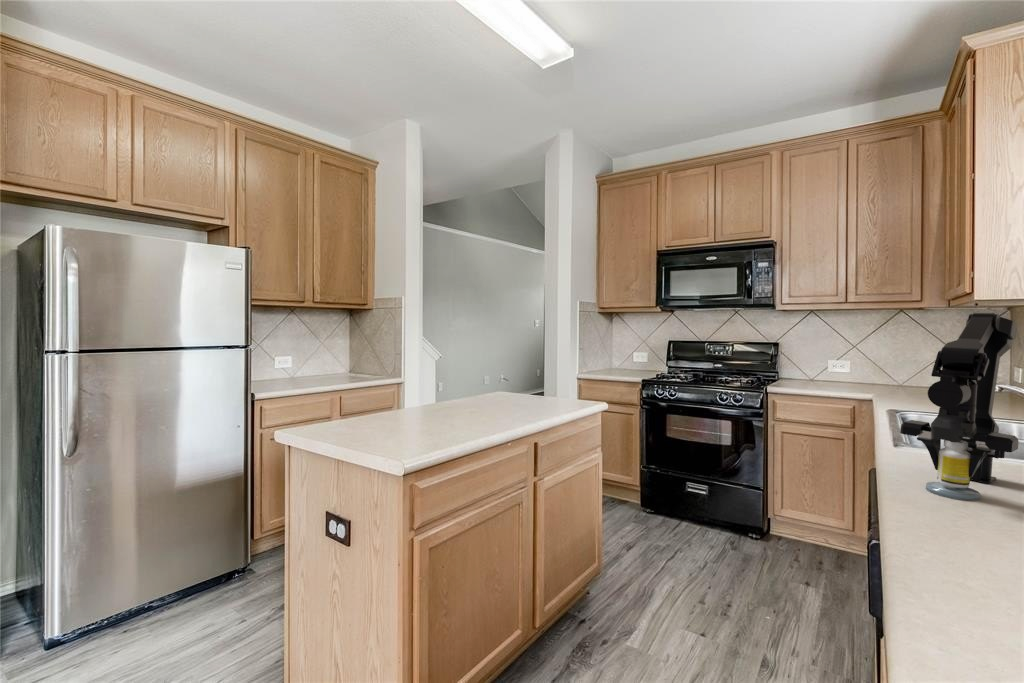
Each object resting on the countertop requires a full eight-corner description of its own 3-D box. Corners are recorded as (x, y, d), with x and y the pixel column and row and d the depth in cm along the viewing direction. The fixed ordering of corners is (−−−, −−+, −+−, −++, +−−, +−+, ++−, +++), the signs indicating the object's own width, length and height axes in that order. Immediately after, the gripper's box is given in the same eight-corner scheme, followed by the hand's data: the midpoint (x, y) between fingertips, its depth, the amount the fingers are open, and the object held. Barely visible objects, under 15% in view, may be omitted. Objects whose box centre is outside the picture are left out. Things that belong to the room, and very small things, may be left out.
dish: (933, 483, 116) (933, 478, 116) (985, 495, 109) (985, 490, 109) (919, 490, 111) (919, 485, 111) (972, 503, 104) (973, 498, 104)
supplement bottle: (975, 489, 107) (978, 444, 106) (946, 487, 108) (949, 443, 107) (958, 481, 112) (961, 438, 111) (931, 479, 113) (933, 437, 112)
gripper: (892, 400, 112) (888, 467, 113) (1007, 414, 97) (1001, 493, 97) (911, 396, 118) (907, 460, 119) (1021, 409, 103) (1016, 483, 104)
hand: (953, 473), depth 110 cm, fingers closed on supplement bottle, 5 cm apart
